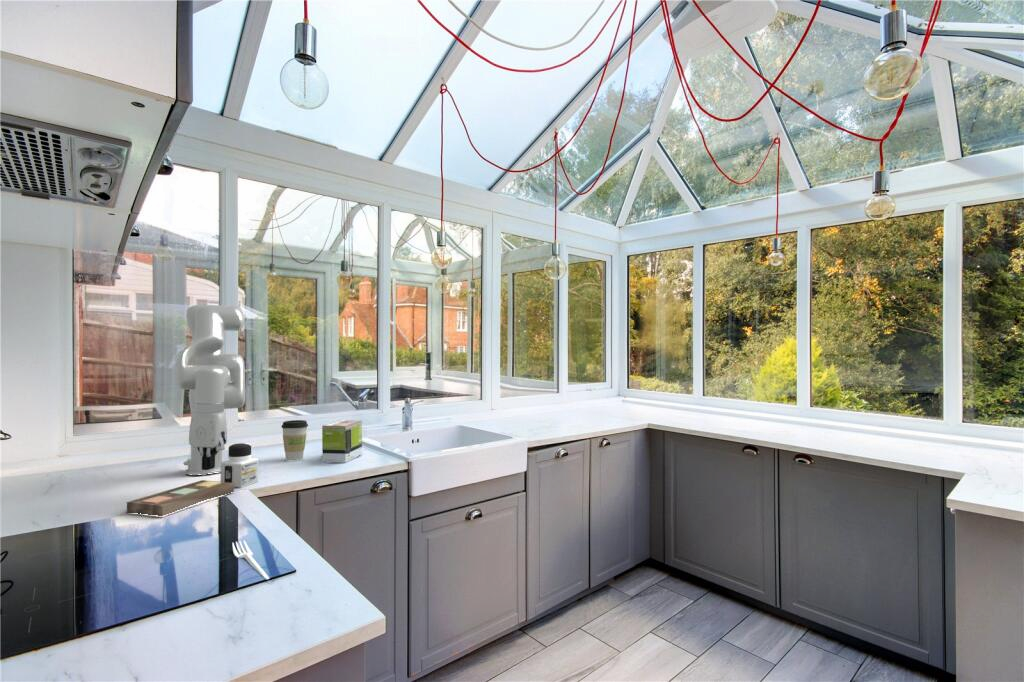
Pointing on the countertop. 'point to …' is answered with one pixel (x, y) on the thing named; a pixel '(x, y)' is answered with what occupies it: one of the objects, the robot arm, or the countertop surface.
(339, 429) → the tea box
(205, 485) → the ochre key
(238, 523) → the countertop surface
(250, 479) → the container
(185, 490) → the sage key
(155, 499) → the terracotta key
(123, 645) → the countertop surface
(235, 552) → the fork
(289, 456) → the coffee cup
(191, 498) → the key panel
